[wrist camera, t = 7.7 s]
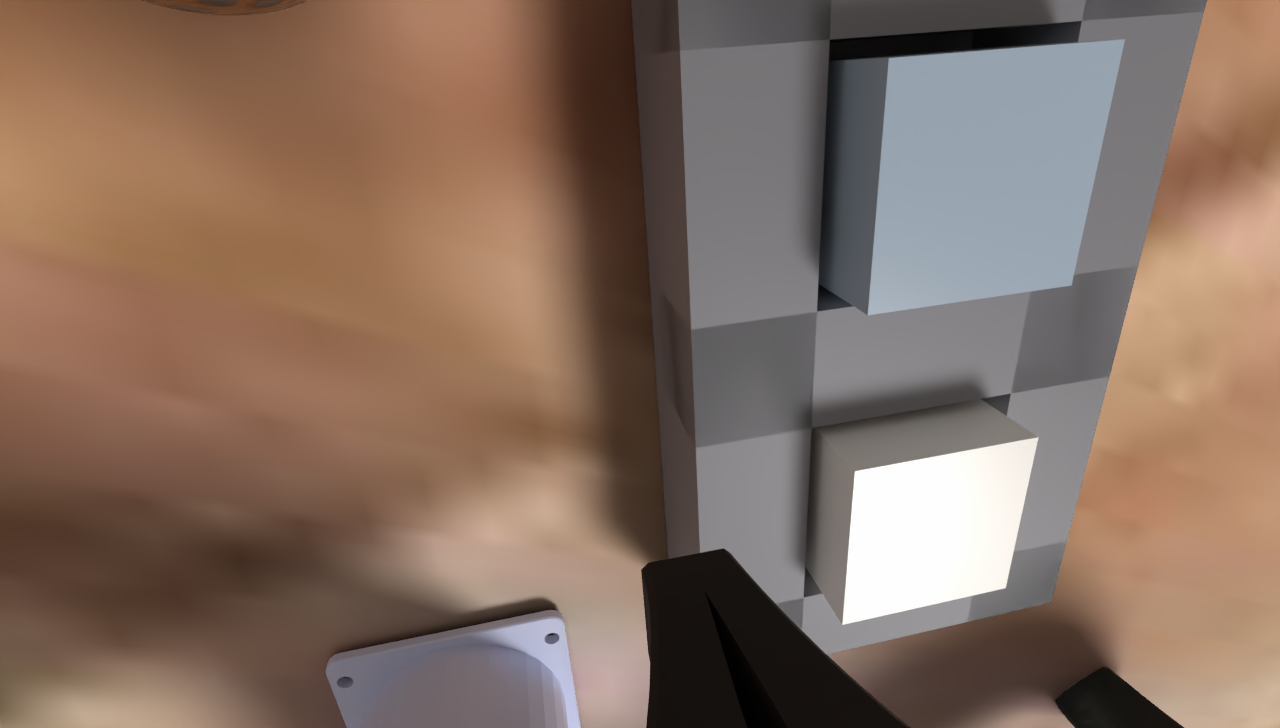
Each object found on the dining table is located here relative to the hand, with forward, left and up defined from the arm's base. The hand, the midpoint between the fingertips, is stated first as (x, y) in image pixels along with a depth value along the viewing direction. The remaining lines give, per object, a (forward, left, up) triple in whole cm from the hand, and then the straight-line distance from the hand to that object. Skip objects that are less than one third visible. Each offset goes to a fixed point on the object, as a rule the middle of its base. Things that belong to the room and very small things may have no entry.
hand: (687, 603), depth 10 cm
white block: (-4, -8, -8) cm, 12 cm away
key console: (+1, -8, -10) cm, 13 cm away
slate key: (+5, -8, -8) cm, 13 cm away
